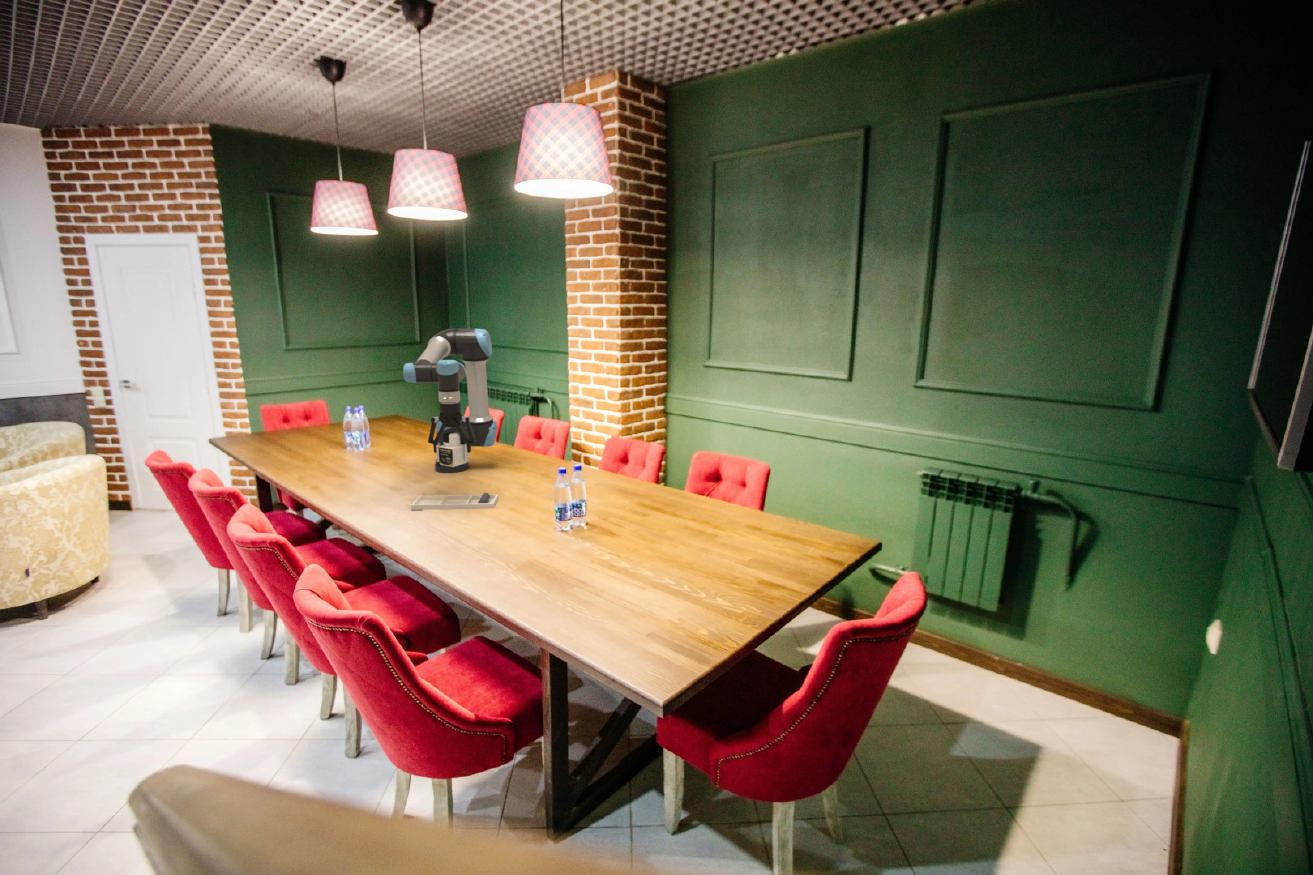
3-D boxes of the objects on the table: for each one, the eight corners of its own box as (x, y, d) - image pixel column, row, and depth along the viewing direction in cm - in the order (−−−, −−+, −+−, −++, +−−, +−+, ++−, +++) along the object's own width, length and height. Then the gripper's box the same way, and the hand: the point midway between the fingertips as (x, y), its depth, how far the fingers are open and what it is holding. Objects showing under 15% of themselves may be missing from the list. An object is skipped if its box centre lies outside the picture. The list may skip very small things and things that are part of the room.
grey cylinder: (480, 497, 247) (485, 491, 246) (487, 501, 247) (491, 495, 247) (476, 503, 239) (481, 497, 239) (483, 508, 240) (488, 502, 239)
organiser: (419, 501, 247) (419, 495, 246) (498, 499, 250) (498, 494, 249) (411, 510, 235) (410, 505, 235) (493, 509, 238) (493, 503, 238)
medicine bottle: (439, 464, 238) (437, 433, 235) (453, 460, 244) (451, 430, 241) (453, 467, 234) (451, 435, 232) (467, 462, 240) (465, 432, 238)
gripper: (415, 404, 229) (420, 463, 234) (478, 403, 231) (481, 463, 236) (421, 400, 237) (425, 458, 241) (482, 400, 239) (484, 458, 243)
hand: (453, 460), depth 239 cm, fingers closed on medicine bottle, 10 cm apart
